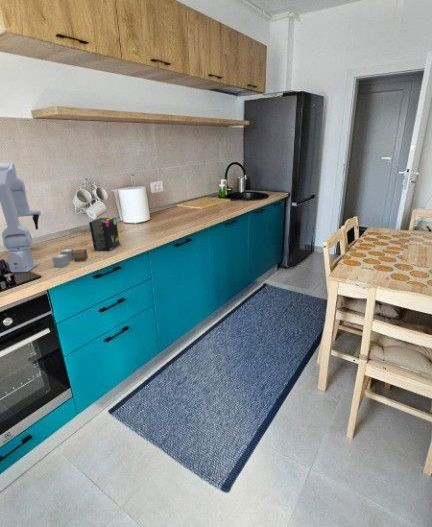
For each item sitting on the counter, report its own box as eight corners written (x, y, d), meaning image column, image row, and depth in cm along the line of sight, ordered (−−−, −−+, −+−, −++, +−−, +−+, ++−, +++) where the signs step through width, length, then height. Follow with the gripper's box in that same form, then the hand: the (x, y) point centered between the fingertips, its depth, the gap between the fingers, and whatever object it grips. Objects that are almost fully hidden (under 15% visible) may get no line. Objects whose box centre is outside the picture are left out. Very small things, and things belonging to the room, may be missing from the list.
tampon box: (110, 251, 155) (105, 222, 150) (93, 250, 157) (88, 222, 152) (120, 244, 165) (116, 217, 160) (104, 244, 167) (100, 217, 162)
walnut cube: (84, 261, 142) (82, 252, 140) (74, 261, 142) (72, 252, 140) (88, 258, 146) (86, 249, 145) (78, 258, 146) (76, 249, 145)
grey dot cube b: (63, 267, 135) (60, 257, 134) (54, 267, 136) (52, 257, 135) (69, 264, 139) (67, 254, 138) (61, 263, 141) (59, 253, 139)
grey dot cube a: (72, 260, 144) (70, 251, 142) (62, 261, 143) (60, 252, 141) (74, 257, 148) (73, 248, 146) (64, 258, 147) (62, 249, 145)
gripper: (38, 200, 158) (45, 225, 164) (6, 202, 154) (14, 228, 160) (36, 204, 152) (43, 230, 159) (2, 207, 148) (11, 233, 154)
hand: (28, 229), depth 159 cm, fingers open, 7 cm apart
